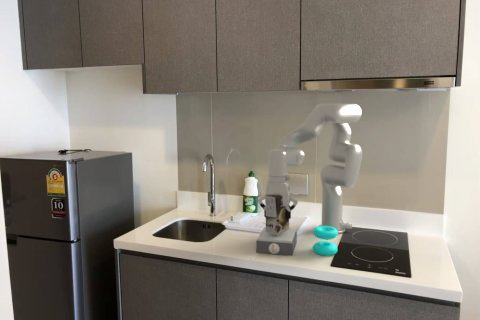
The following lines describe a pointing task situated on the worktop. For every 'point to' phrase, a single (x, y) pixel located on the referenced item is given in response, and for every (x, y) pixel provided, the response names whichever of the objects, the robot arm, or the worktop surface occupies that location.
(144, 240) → the worktop surface
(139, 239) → the worktop surface
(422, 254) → the worktop surface
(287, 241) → the scale
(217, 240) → the worktop surface
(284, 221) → the coffee box
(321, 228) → the donuts
